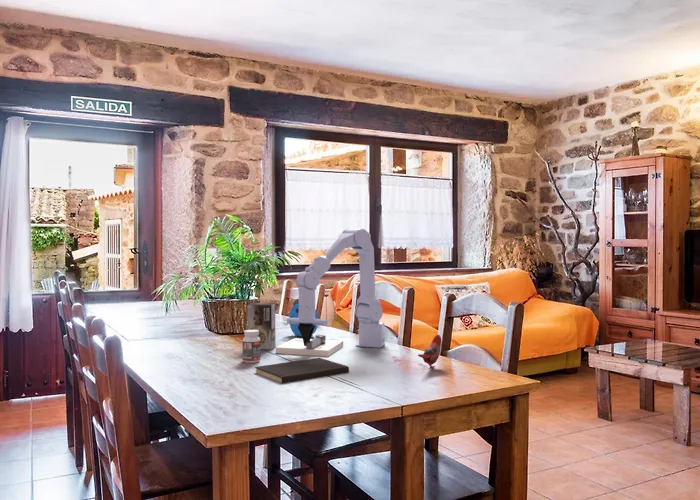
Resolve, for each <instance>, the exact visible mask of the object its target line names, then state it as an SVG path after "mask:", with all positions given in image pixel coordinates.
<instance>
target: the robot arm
mask: <svg viewBox="0 0 700 500" xmlns="http://www.w3.org/2000/svg"><path fill="white" fill-rule="evenodd" d="M371 235H372V234H371V233H370V232H369V231H368V230H367V229H365V228H353V229H351V228H346V229H344V230H343V231H342V233H340V234H339V235H338V238H337V239H336V240H335V242H333V244H332V245H331V246H330V247H329V249H328V250H327V251H326V252H325V253H324V254H323V255H318V256H315V257H314V258H313V261H312V262H311V264H310V265H309V266H306V267H305V268H304V269H305V270H304V271H301V272H299V273H298V274H297V277H296V279H294V283H295V285H296V286H297V289H298V299H299V318H289V317H287V318H286V324H287V325H288V324H289V325H290V324H299V326H298V329H299V331H300V333H301V335H302V336H301V339H303V342H304V346H306V343H307V342H309V341H310V339H312V333H313V331H314V329H315V327H316V325H318V326H321V327H326V326H328V319H323V318H322V319H321V318H318V319H315V309H316V288H317V287H318V285H319V283H320V279H321V278H322V277H323V276H324V275H325V274H326V273H327V271H329V270H330V268H331V263H332V262H333V261H334V260H335V259H336V258H337V257H338V256H339V255H340V254H341V253H342V252H343V251H344V250H345V249H349V248H352V249H353V250H355V252H356V253H358V254H359V257H358V261H359V283H360V284H359V285H360V286H359V288H360V289H359V292H360V294H359V295H360V296H359V297H358V298H357V300H356V307H355V310H354V313H355V316H356V318H357V320H358V343H356V344H355V347H365V348H382V347H383V346H384V345H385V344H386V343H385V338H386V337H385V333H386V332H385V331H386V330H385V323H384V321H382V322H380V321H381V319H382V317H383V312H384V311H383V309H382V306H381V300H380V299H379V298H378V297H377V296H376V277H375V275H376V274H375V273H376V272H375V247H374V245H373V242H372V238H371V237H372V236H371Z"/></svg>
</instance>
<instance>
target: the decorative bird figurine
mask: <svg viewBox="0 0 700 500" xmlns="http://www.w3.org/2000/svg"><path fill="white" fill-rule="evenodd" d="M441 347H442V337H441V335H440V334H436V335H435V336H434V337H433V338H432V341H431V343H430V344H429V345H428V346H427V348H425V350H424V352H423V353H421V354H417V356H418V357H419V358H422V359H423V361H424V363H425V364H427V365H428V366H429V368H428V370H434V369H435V367H436V365H434V364H435V363H436V362H437V361H438V360H439V358H440V357H439V356H440V353H441Z"/></svg>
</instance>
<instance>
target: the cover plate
mask: <svg viewBox="0 0 700 500" xmlns="http://www.w3.org/2000/svg"><path fill="white" fill-rule="evenodd" d="M313 339H314V338H311V339H310V341H311V340H313ZM343 347H344V340H334V339H333V340H332V339H326V341H325V343H322V344H320V345H318V346H316V347H315V348H313V349H306V346H304V342H303V338H297V337H295V338H292V339H290V340H289V341H286V342H284V343H282V344H280V345H278V346H276V347H275V354H281V355H300V356H316V357H317V356H318V357H330V356H331V355H333V354H334V353H335V352H337V351H338V350H340V349H341V348H343Z"/></svg>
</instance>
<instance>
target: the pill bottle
mask: <svg viewBox="0 0 700 500" xmlns="http://www.w3.org/2000/svg"><path fill="white" fill-rule="evenodd" d="M243 332H244V336H243V338H242V357H241V358H242V362H244V363H247V364H254V363H259V362H260V361H261V349H260V338H259V337H258V335H259V330H248V329H245V330H243Z"/></svg>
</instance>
